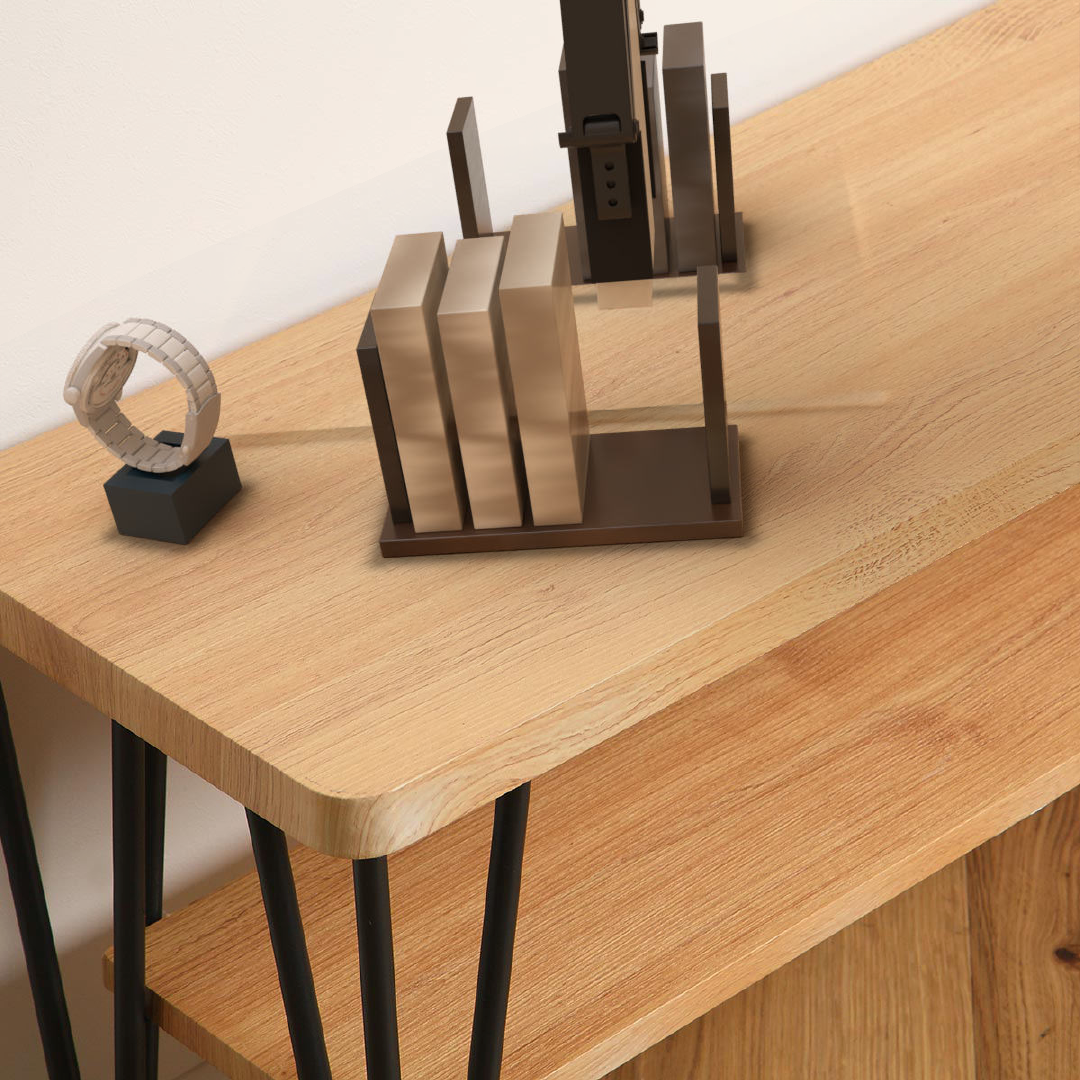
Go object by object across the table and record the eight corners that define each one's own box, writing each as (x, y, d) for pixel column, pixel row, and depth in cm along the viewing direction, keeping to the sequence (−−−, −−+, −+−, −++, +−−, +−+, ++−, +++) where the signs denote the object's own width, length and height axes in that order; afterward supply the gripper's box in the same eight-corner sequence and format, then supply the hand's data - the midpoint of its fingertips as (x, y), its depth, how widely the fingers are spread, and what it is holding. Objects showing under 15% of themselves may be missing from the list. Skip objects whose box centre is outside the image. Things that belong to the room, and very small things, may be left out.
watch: (148, 473, 91) (93, 297, 85) (269, 491, 88) (221, 309, 82) (88, 529, 87) (26, 348, 81) (213, 550, 84) (158, 363, 77)
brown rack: (738, 439, 86) (723, 193, 78) (743, 537, 79) (727, 275, 71) (406, 461, 89) (359, 224, 81) (381, 557, 81) (327, 307, 73)
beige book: (654, 231, 79) (631, -40, 72) (651, 306, 73) (626, 17, 65) (605, 235, 79) (577, -35, 72) (598, 310, 73) (567, 22, 66)
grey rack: (743, 225, 108) (731, 7, 100) (747, 285, 101) (734, 56, 93) (477, 247, 110) (443, 35, 102) (462, 307, 103) (425, 85, 95)
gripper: (501, -337, 71) (559, 155, 84) (443, -251, 54) (527, 349, 67) (672, -359, 70) (704, 143, 83) (668, -278, 53) (709, 336, 66)
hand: (625, 235), depth 75 cm, fingers closed on beige book, 8 cm apart
